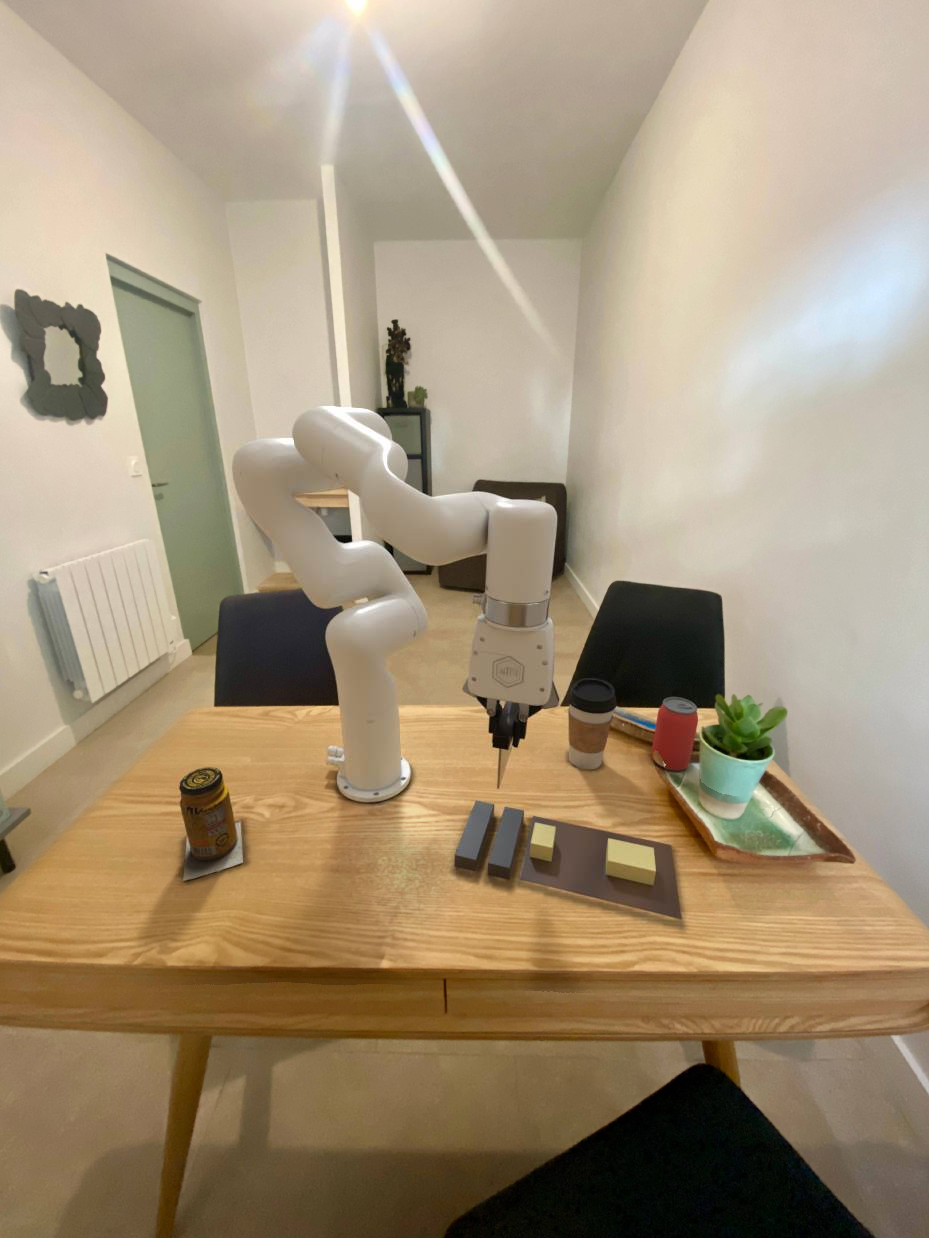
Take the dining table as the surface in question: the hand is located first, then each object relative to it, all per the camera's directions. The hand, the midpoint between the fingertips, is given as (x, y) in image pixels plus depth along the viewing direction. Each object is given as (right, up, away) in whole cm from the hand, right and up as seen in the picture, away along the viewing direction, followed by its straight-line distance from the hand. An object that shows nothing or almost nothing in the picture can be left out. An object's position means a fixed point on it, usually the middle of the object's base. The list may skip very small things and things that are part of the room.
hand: (506, 738), depth 63 cm
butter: (+17, -18, +2) cm, 25 cm away
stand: (-2, -17, +7) cm, 19 cm away
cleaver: (0, -4, +1) cm, 4 cm away
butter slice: (+5, -17, +5) cm, 19 cm away
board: (+13, -19, +4) cm, 23 cm away
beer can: (+32, -11, +26) cm, 43 cm away
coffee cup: (+17, -11, +26) cm, 33 cm away
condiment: (-42, -18, +6) cm, 46 cm away
